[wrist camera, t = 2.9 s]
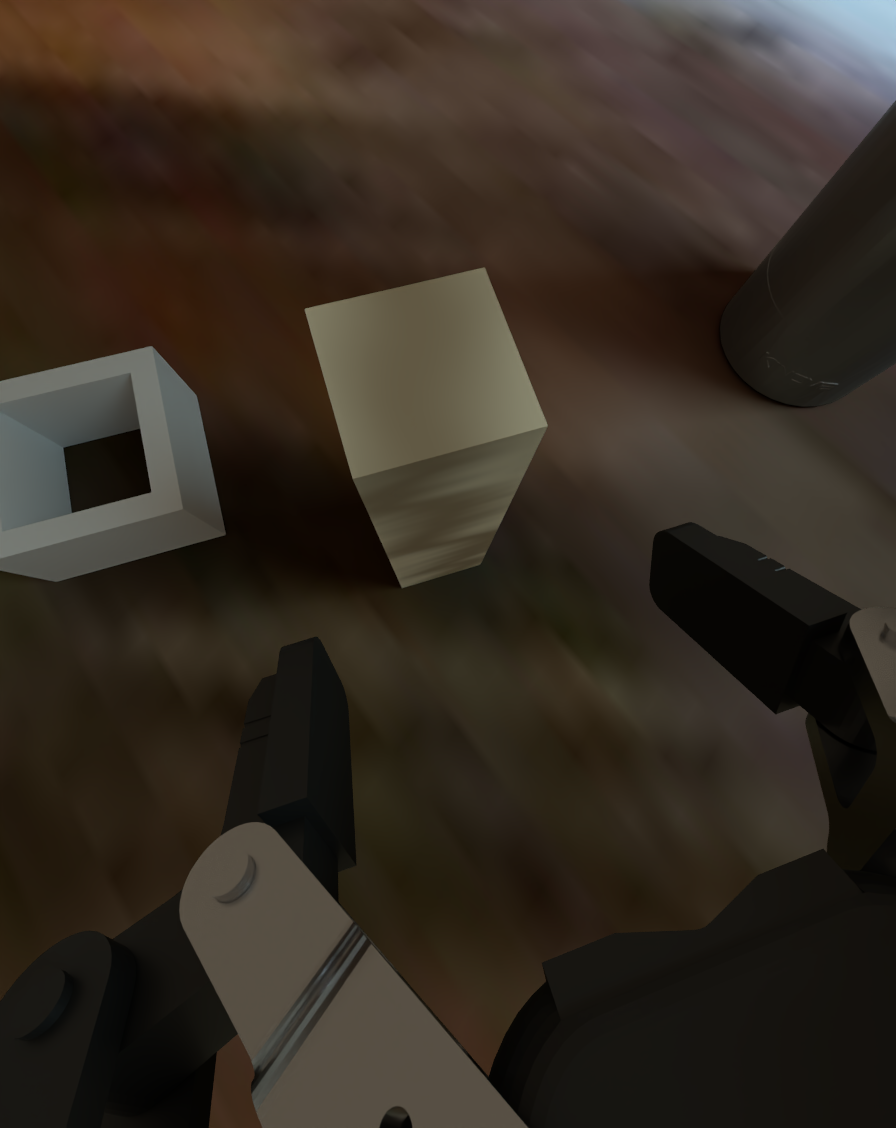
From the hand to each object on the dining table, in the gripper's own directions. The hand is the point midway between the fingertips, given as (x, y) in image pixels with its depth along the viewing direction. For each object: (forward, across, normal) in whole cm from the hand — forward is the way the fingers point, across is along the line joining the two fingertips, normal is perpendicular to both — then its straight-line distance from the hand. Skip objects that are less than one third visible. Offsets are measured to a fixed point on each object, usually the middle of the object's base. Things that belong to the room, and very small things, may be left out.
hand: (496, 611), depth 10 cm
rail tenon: (+13, 0, +5) cm, 14 cm away
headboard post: (+18, +22, -1) cm, 28 cm away
